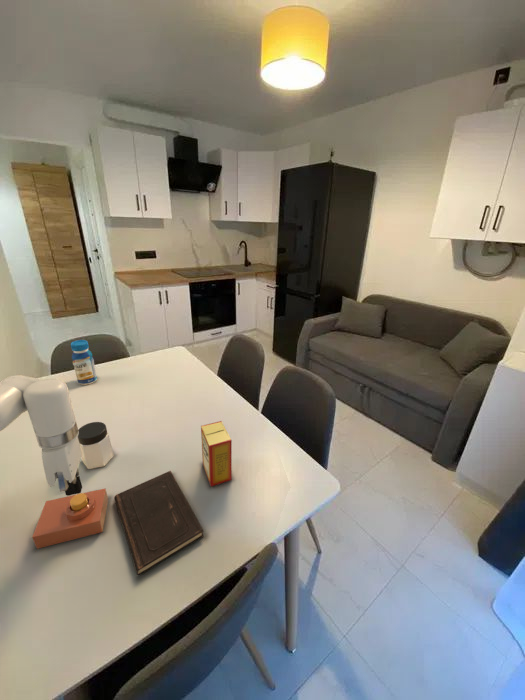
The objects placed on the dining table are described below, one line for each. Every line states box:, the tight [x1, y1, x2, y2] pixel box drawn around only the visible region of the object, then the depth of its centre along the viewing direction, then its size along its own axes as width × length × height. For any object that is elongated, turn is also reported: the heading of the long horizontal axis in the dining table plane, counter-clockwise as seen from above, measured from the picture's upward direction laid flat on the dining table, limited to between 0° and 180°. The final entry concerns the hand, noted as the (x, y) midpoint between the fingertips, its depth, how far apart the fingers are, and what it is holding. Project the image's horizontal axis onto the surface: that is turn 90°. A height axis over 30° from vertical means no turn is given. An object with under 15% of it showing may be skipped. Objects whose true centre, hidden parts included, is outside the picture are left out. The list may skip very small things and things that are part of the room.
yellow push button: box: [70, 492, 88, 511], centre depth 73 cm, size 4×4×2 cm
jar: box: [78, 421, 114, 470], centre depth 92 cm, size 9×8×12 cm
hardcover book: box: [114, 470, 205, 576], centre depth 77 cm, size 16×23×2 cm
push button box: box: [31, 487, 109, 549], centre depth 74 cm, size 14×10×6 cm
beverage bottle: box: [70, 339, 98, 386], centre depth 135 cm, size 8×8×20 cm
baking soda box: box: [200, 420, 233, 487], centre depth 89 cm, size 10×6×16 cm
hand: (74, 491), depth 72 cm, fingers closed
